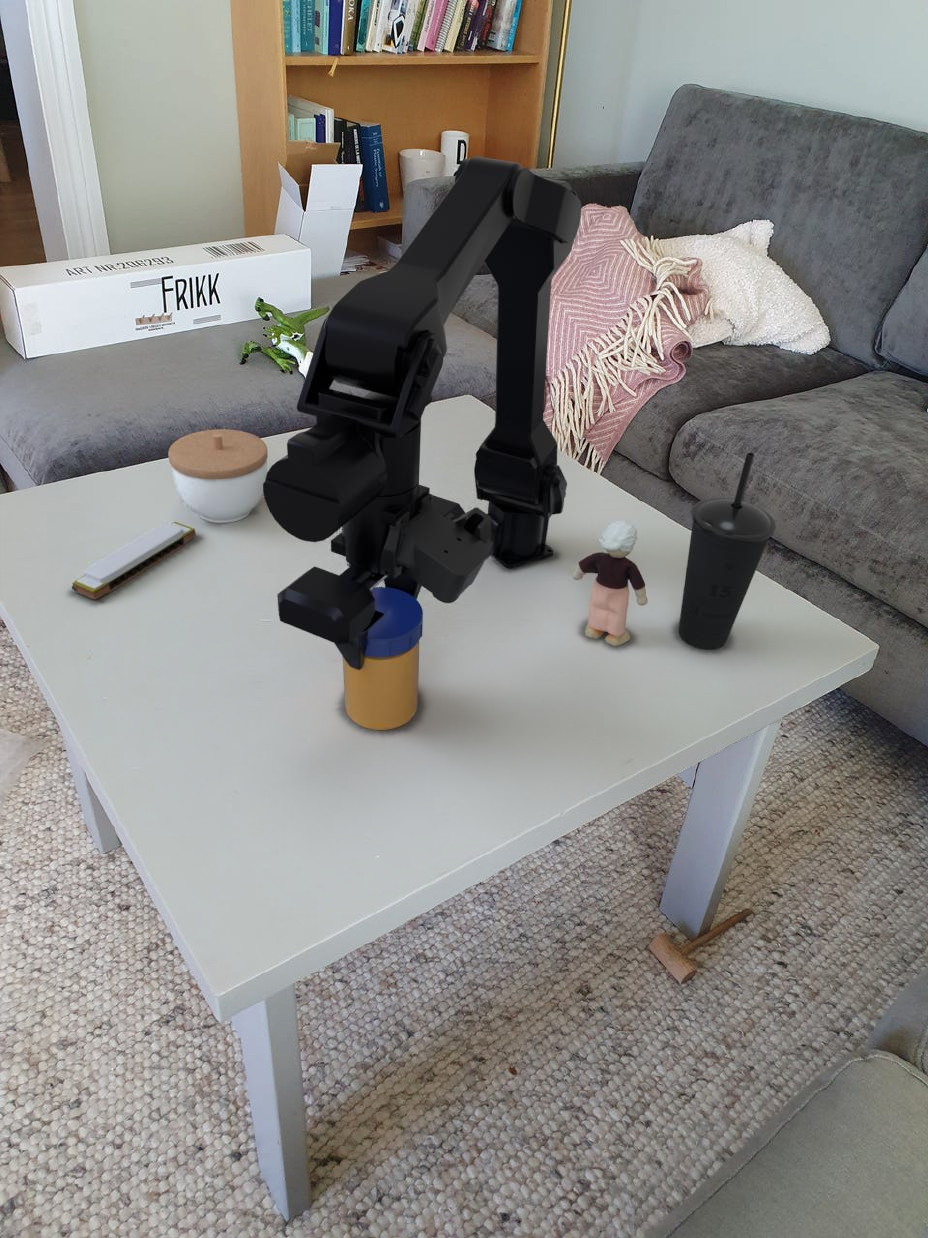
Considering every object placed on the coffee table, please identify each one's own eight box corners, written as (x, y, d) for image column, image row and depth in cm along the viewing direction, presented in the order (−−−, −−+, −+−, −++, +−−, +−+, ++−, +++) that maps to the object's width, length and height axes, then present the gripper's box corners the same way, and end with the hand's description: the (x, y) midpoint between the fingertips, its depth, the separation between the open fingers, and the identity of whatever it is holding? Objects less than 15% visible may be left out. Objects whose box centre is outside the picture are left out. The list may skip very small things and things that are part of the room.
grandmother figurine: (642, 631, 92) (666, 522, 85) (635, 653, 89) (660, 541, 82) (568, 613, 94) (585, 504, 86) (559, 633, 91) (576, 523, 83)
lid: (324, 620, 76) (323, 602, 75) (396, 595, 79) (396, 578, 78) (363, 668, 72) (362, 650, 70) (438, 640, 75) (438, 622, 73)
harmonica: (174, 530, 102) (172, 514, 101) (196, 538, 101) (194, 522, 100) (72, 592, 91) (68, 575, 90) (95, 602, 90) (91, 585, 89)
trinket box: (250, 540, 101) (243, 463, 96) (159, 525, 103) (148, 448, 97) (284, 495, 110) (280, 422, 104) (201, 482, 111) (192, 409, 106)
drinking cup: (655, 613, 95) (696, 434, 83) (726, 613, 96) (776, 436, 84) (675, 659, 89) (722, 473, 77) (751, 658, 89) (808, 475, 78)
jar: (396, 671, 84) (396, 587, 78) (431, 714, 80) (434, 630, 74) (332, 693, 81) (328, 609, 75) (365, 740, 77) (362, 654, 71)
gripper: (409, 570, 57) (403, 749, 67) (533, 459, 71) (514, 620, 80) (266, 519, 61) (279, 695, 71) (409, 423, 75) (405, 581, 84)
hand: (378, 645), depth 76 cm, fingers closed on lid, 6 cm apart
